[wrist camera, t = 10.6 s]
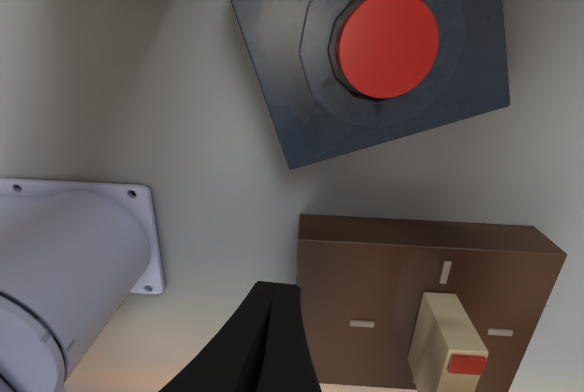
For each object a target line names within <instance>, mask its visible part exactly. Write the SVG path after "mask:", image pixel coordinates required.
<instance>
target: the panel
mask: <svg viewBox="0 0 584 392" xmlns="http://www.w3.org/2000/svg"><path fill="white" fill-rule="evenodd" d="M566 256H567V254H566V253H565V252H564V251H563V250H562V249H560V248H559V247H558V246H557V245H556V244H554V243H553V242H552V241H551V240H550V239H548V238H547V237H546V236H545V235H544V234H542V233H541V232H540V231H539V230H538V229H537V228H535V227H534V226H518V225H499V224H480V223H461V222H442V221H423V220H404V219H384V218H365V217H346V216H327V215H308V214H300V220H299V235H298V254H297V276H296V285H298V286H299V287H300V288H301V311H302V319H303V325H304V330H305V334H306V339H307V343H308V348H309V352H310V355H311V359H312V362H313V366H314V369H315V373H316V376H317V379H318V382H319V383H326V384H340V385H355V386H369V387H384V388H398V389H413V390H417V388H416V384H415V381H414V378H413V374H412V371H411V368H410V364H409V361H408V355H409V351H410V346H411V342H412V338H413V334H414V330H415V325H416V321H417V317H418V313H419V309H420V305H421V300H422V296H423V292H432V293H449V294H456V296H457V297H458V299H459V301H460V303H461V304H462V306H463V308H464V310H465V311H466V313H467V315H468V317H469V319H470V320H471V322H472V324H473V326H474V327H475V329H476V331H477V333H478V334H479V336H480V338H481V340H482V342H483V343H484V345H485V347H486V349H487V350H488V353H489V354H488V356H487V362H486V364H485V367H484V370H483V372H482V375H480V378H479V380H478V383H477V386H476V389H475V391H474V392H508V391H509V389H510V386H511V384H512V382H513V379H514V377H515V375H516V372H517V370H518V368H519V365H520V363H521V361H522V358H523V356H524V354H525V351H526V349H527V347H528V344H529V342H530V340H531V338H532V335H533V333H534V331H535V328H536V326H537V324H538V321H539V319H540V317H541V314H542V312H543V310H544V307H545V305H546V303H547V300H548V298H549V296H550V293H551V291H552V289H553V287H554V284H555V282H556V280H557V277H558V275H559V273H560V270H561V268H562V266H563V263H564V261H565V259H566Z"/></svg>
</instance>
